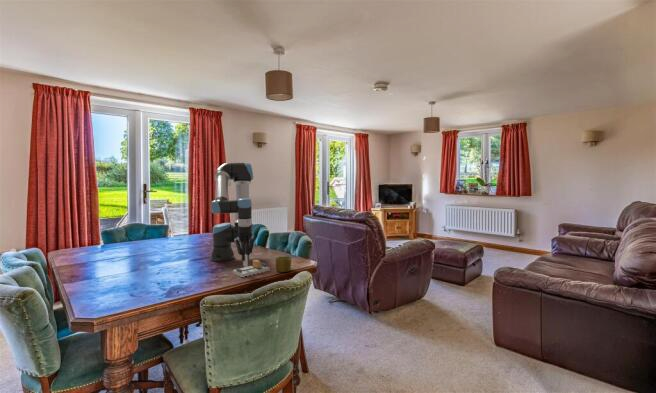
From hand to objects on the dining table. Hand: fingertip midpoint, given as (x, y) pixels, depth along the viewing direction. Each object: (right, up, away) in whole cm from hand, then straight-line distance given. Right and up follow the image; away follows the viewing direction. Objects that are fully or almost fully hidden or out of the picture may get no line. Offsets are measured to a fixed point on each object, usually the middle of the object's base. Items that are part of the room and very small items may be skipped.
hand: (245, 265), depth 185 cm
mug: (+21, -4, +8) cm, 23 cm away
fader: (+5, -2, +5) cm, 7 cm away
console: (+3, -4, +3) cm, 6 cm away
